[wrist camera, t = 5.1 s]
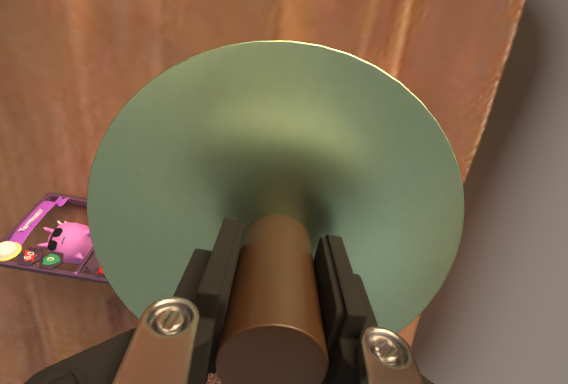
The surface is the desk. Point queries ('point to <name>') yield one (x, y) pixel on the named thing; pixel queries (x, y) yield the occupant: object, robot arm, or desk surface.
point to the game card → (53, 244)
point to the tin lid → (277, 195)
